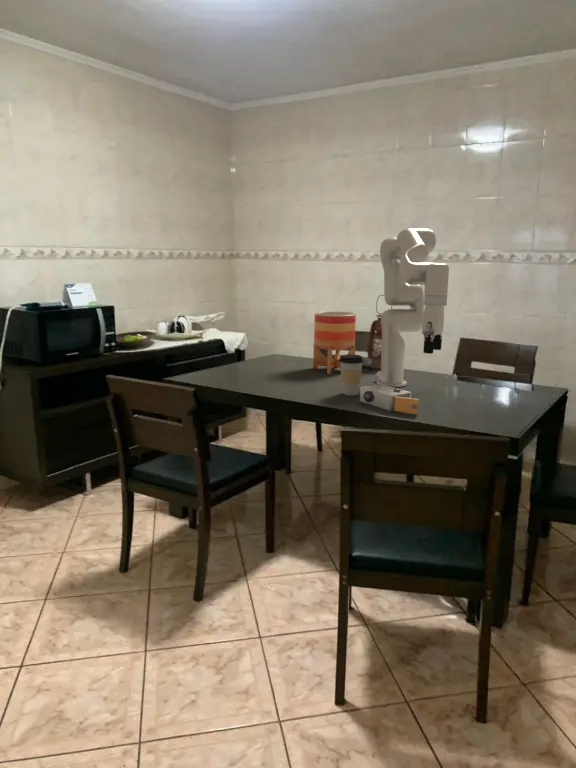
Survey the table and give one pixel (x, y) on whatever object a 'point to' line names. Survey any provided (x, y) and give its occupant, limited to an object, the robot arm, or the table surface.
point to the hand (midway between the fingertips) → (432, 351)
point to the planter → (333, 337)
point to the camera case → (381, 395)
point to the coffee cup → (351, 373)
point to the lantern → (375, 327)
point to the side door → (405, 404)
